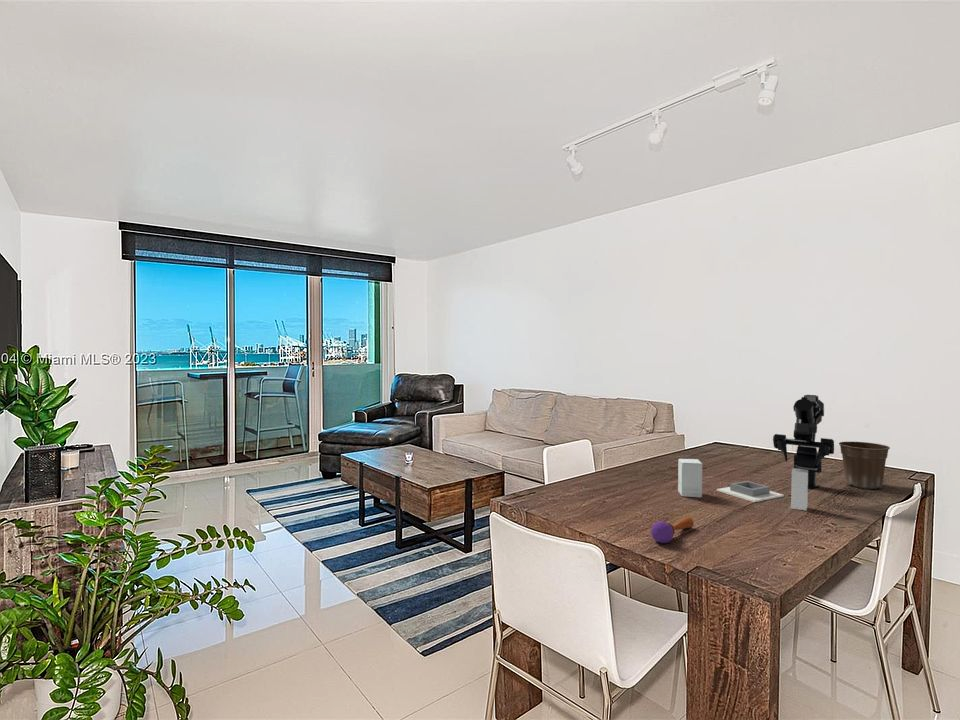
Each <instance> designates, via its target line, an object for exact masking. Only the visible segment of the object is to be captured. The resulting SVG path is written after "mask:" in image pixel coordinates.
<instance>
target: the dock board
mask: <svg viewBox="0 0 960 720" xmlns="http://www.w3.org/2000/svg"><path fill="white" fill-rule="evenodd" d="M716 492H720V493H723V494H727V495H730V496H733V497H736V498H739V499H742V500H746V501H749V502H752V503H756V502H757V503H758V502H762V501H767V500H772V499H773V500H774V499H778V498H783V497H785V495H784V494H783V493H778V492H775V491H772V490H771V486H769V485H768V486H767V485H764V484H761V483H757V482H752V481H749V480H745V481H739V482H738V481H737V482H733V483H730V484H729V486H726V487H720V488H716Z"/></svg>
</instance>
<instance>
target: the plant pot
mask: <svg viewBox="0 0 960 720" xmlns="http://www.w3.org/2000/svg"><path fill="white" fill-rule="evenodd" d="M838 445H839V447H840V454H842V466H843V477H844V484H846V485H847V486H853V487H855V488H859V489H865V490H866V489H867V490H877V489H882V488H883V485H884V477H885V468H886V461H887V458H888V455H889V453H888V452H889V450H890V448H891V447H890V446H889V445H885V444H881V443H876V442H875V443H874V442H868V441H867V442H865V441H841V442H838Z"/></svg>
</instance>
